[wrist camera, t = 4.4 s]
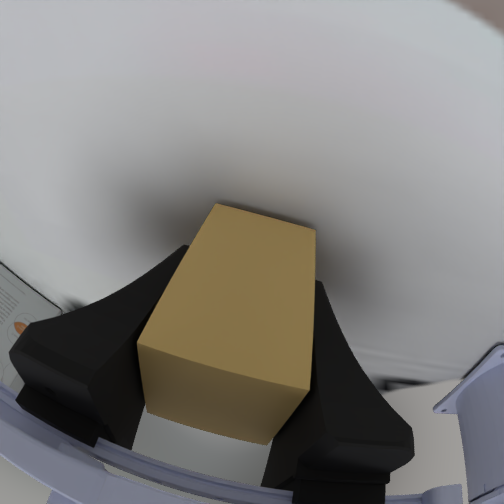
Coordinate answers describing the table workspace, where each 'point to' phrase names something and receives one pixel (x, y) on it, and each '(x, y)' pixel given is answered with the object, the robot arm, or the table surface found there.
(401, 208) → the table surface
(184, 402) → the ochre block
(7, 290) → the small box
